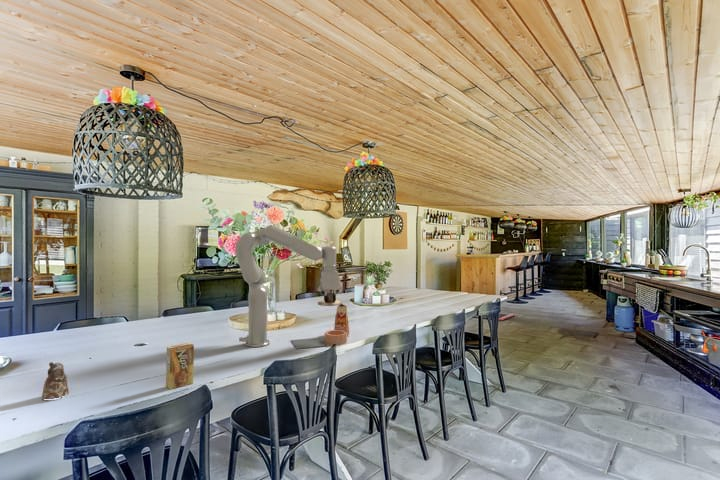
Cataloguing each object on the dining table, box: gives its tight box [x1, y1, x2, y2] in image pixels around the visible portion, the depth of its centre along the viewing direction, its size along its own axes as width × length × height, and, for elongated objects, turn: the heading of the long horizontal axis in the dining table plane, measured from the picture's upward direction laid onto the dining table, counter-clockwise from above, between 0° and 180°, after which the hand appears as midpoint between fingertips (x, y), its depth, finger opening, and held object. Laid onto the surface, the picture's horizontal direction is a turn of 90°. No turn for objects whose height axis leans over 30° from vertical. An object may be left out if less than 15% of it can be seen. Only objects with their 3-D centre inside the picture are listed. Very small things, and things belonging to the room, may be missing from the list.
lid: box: [317, 292, 343, 307], centre depth 205 cm, size 13×13×6 cm
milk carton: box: [333, 303, 350, 338], centre depth 223 cm, size 9×9×20 cm
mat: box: [290, 337, 328, 350], centre depth 202 cm, size 16×16×1 cm
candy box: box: [165, 342, 195, 390], centre depth 144 cm, size 9×4×15 cm, turn 137°
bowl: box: [323, 329, 348, 346], centre depth 207 cm, size 12×12×5 cm
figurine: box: [41, 361, 69, 400], centre depth 132 cm, size 7×7×12 cm
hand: (329, 301), depth 206 cm, fingers closed on lid, 3 cm apart
